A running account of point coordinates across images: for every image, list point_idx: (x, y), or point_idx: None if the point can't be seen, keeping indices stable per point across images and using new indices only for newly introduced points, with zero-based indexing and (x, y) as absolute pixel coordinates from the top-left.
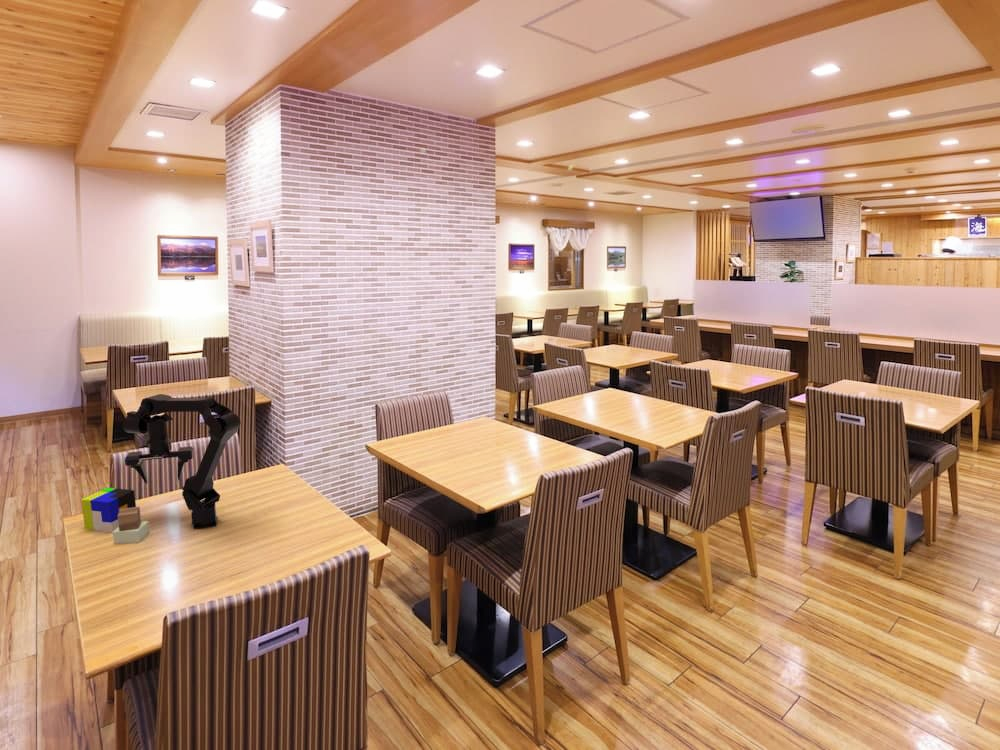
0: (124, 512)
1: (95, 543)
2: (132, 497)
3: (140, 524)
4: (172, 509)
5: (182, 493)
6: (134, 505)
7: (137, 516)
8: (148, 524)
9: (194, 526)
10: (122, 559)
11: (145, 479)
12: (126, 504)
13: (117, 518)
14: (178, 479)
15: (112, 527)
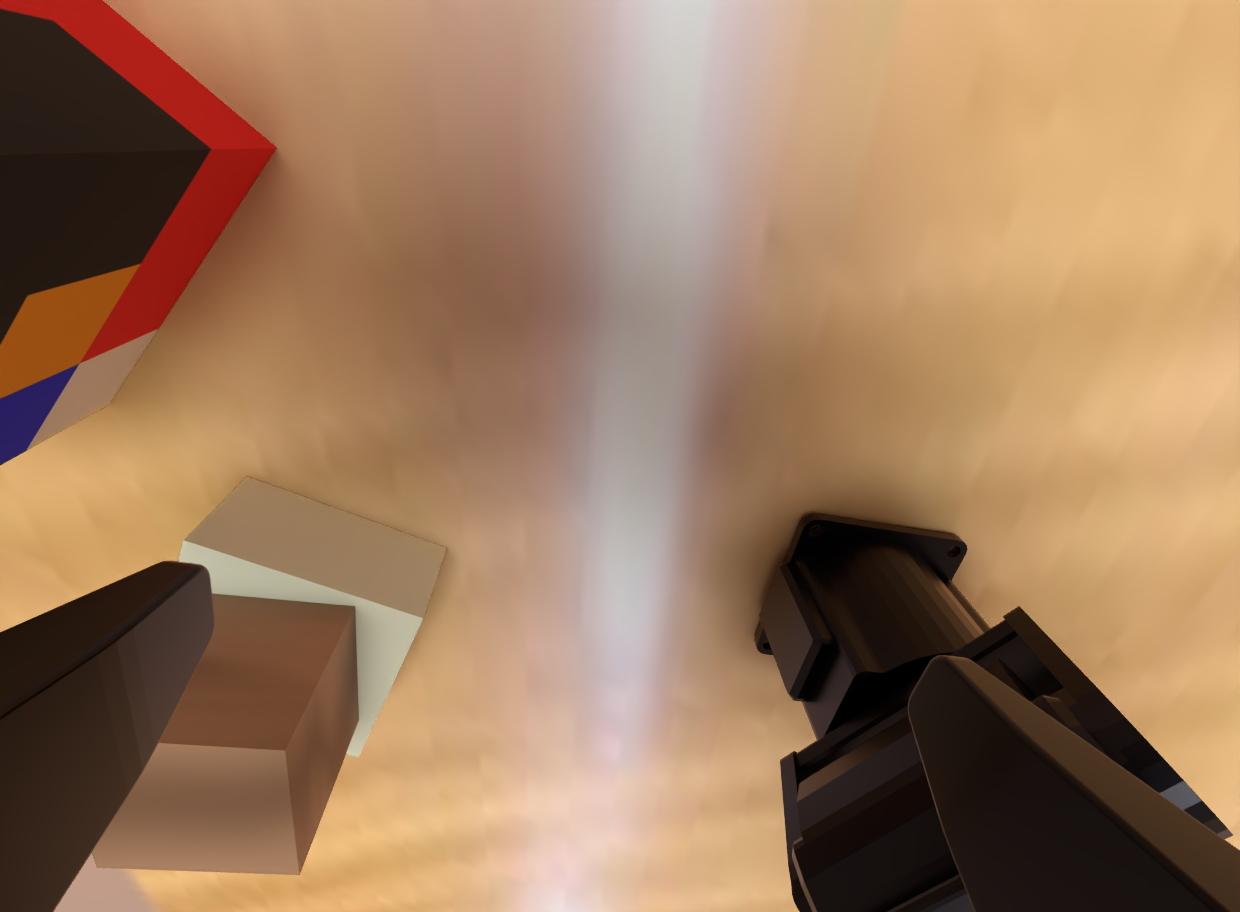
0: (148, 828)
1: (42, 561)
2: (27, 199)
3: (359, 656)
4: (664, 43)
5: (805, 892)
6: (153, 175)
7: (316, 828)
8: (427, 603)
9: (765, 637)
10: (326, 822)
11: (111, 786)
12: (25, 303)
13: (55, 394)
14: (916, 724)
15: (74, 420)
